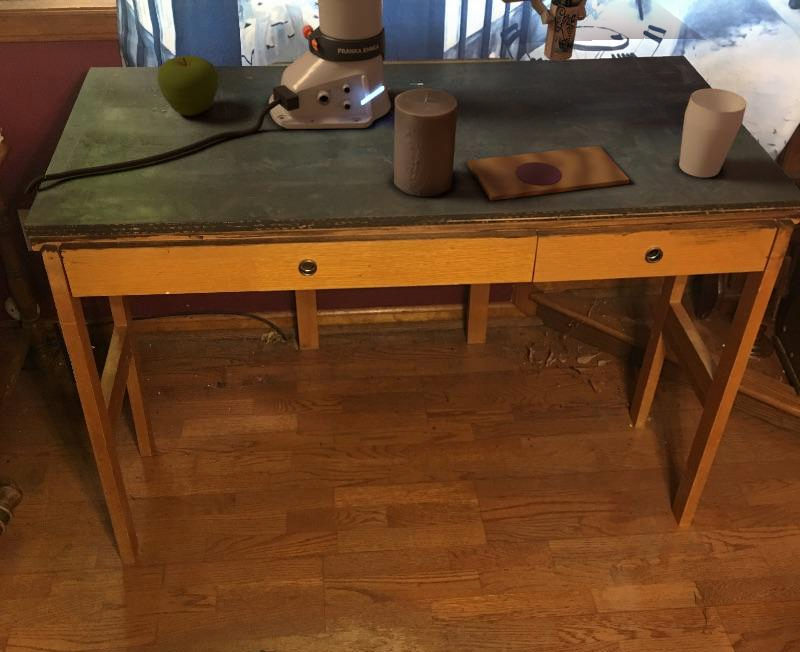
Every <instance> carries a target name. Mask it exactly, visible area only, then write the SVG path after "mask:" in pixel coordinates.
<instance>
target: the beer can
mask: <svg viewBox="0 0 800 652" xmlns="http://www.w3.org/2000/svg"><path fill="white" fill-rule="evenodd" d="M580 2H581V0H550V5H549V10H550V9H552V12H553V16H554V21H553V22H552V23H551V24H547V28H546V35H545V43H544V49H543V55H544V57H546V58H547V59H548V60H549V61H552V62H555V63H556V62H557V63H561V62H562V63H563V62H566V61H568V60H570V59H571V58H572V56H573V52H574V46H575V39H576V33H577V25H578V22H579V21H578V14H579V8H580Z"/></svg>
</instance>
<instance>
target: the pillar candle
mask: <svg viewBox="0 0 800 652" xmlns="http://www.w3.org/2000/svg"><path fill="white" fill-rule="evenodd" d="M457 121H458V101H457V99H456V97H454V96H453V94H450V93H449V92H447V91H444V90H440V89H436V88H414V89H409V90H406V91H403V92H401V93H400V94H397V95H396V96H395V98H394V138H393V139H394V140H393V148H394V149H393V184H394V186H396V187H397V189H399V190H400V191H402V192H403V193H404V194H407V195H410V196H414V197H420V198H421V197H422V198H423V197H434V196H438V195H441V194H443V193H445V192H447V191H449V190H450V189H451V188H452V186H453V174H454V173H453V172H454V164H455V163H454V162H455V151H456V148H455V147H456V134H457V133H456V131H457Z"/></svg>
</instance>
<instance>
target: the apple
mask: <svg viewBox="0 0 800 652" xmlns="http://www.w3.org/2000/svg"><path fill="white" fill-rule="evenodd" d="M218 81H219V74H218V72H217V70H216V68H215V66H214V63H211V62H210V61H208V60H207V59H205V58H203V57H200V56H197V55H182V56H180V55H179V56H175V57H171V58H169V59H167V60H166V61H164V62H163V63H162V64H161V65H160V67H159V68H158V72H157V84H158V86H159V89H160V91H161V94H162V96H163V97H164V99H165V100H166V102H167V103H168V105H169V106H170V108H171V109H173V110H174V111H175V112H177V113H179V114H181V115H183V116H188V117H189V116H197V115H200V114H202V113H204V112H205V111H207V110H208V109H209V108H210V107H212V106H213V103H214V100H215V98H216V94H217V91H218V86H219V85H218V84H219V82H218Z"/></svg>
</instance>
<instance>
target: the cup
mask: <svg viewBox="0 0 800 652" xmlns="http://www.w3.org/2000/svg"><path fill="white" fill-rule="evenodd" d="M746 109H747V100H746V99H745V98H744V97H742V96H741V95H739V93H736V92H734V91H730V90H726V89H721V88H712V87H711V88H701V89H697V90H695V91H693V92H692V93H691V94H690V97H689V100H688V103H687V106H686V109H685V111H684V119H683V127H682V135H681V136H682V137H681V143H680V144H681V146H680V153H679V163H678V166H679V168H680V170H682V171H683V172H684V173H685V174H687V175H689V176H692V177H695V178H712V177H715V176H717V175H718V174H719V173H720V171H721V170H722V168H723V167H722V166H723V165H724V163H725V160H726V158H727V157H728V154H729V152H730V150H731V148H732V146H733V144H734V142H735V139H736V137H737V135H738V133H739V131H740V129H741V127H742V124H743V121H744V117H745V113H746Z"/></svg>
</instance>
